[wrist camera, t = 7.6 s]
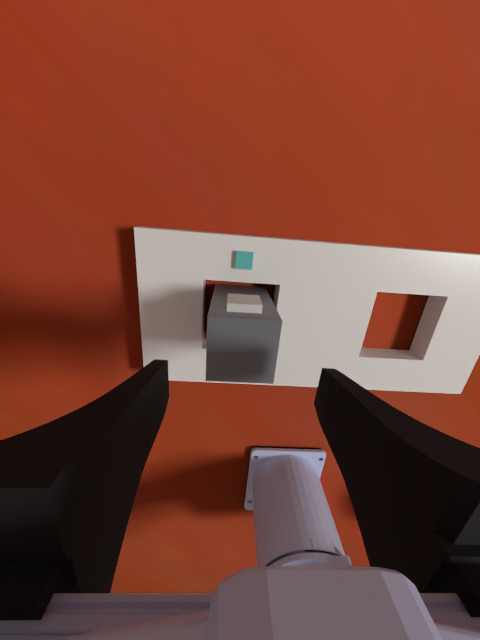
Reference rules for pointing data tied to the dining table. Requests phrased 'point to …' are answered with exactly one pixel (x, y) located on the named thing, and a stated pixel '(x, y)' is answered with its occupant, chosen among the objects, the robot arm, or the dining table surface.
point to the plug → (242, 335)
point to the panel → (312, 306)
